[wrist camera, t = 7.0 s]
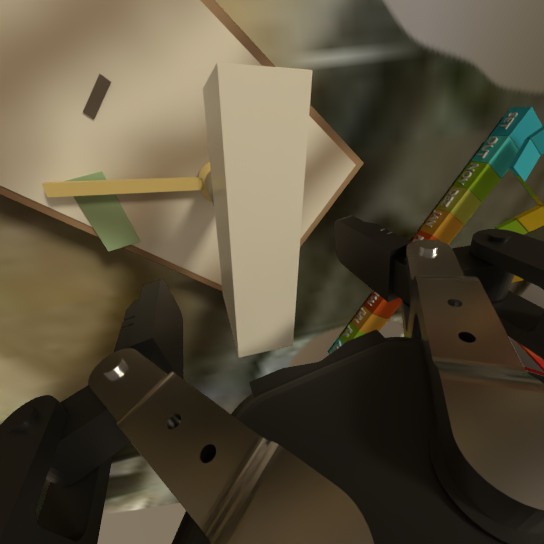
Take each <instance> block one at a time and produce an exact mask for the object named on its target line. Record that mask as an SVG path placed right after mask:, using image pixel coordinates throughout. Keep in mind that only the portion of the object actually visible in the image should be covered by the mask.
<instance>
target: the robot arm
mask: <svg viewBox="0 0 544 544" xmlns="http://www.w3.org/2000/svg"><path fill="white" fill-rule="evenodd" d="M334 232H335V244H336V253H337V257H338V259H339V261H340V262H341V263H342V264H343V265H344V266H345V267H346V268H348V269H349V270H350V271H351V272H352V273H354V274H355V275H356V276H357V277H358V278H359V279H361V280H362V281H363V282H364V283H365V284H367V285H368V286H369V287H370V288H371V289H373V290H374V291H375V292H376V293H377V294H378V295H380V296H381V297H382V298H383V299H384V300H386V301H387V302H390V301H392V300H395V299H397V298H401V299H402V303H401V309H402V318H403V327H404V337H390V338H384V337H383V336H382V335H381V333H379V331H378V330H377V329H376V330H373V331H371V332H369V333H366V334H364V335H361V336H359V337H357V338H354V339H352V340H349V341H347V342H346V343H344V344H343V345H342V346H340V347H339V348H338V349H336V350H335V351H334V352H332V353H331V354H330V355H329V356H327V357H326V358H325V359H323V360H322V361H319V362H317V363H311V364H305V365H300V366H294V367H288V368H282V369H280V370H278V371H275V372H273V373H270V374H268V375H266V376H263V377H261V378H258V379H256V380H254V381H251V382H250V386H251V390H252V394H251V395H250V396H248V397H247V398H246V399H245V400H244V401H243V402H241V403H240V404H239V406H238V407H237V408H236V409H235V410H234V411H233V413H232V414H230V413H228V412H227V411H226V410H224V409H223V408H222V407H220V406H219V405H218V404H216V403H215V402H214V401H212V400H211V399H209V398H208V397H207V396H205V395H204V394H203V393H201V392H200V391H199V390H197V389H196V388H195V387H193V386H192V385H191V384H189V383H188V382H186V381H185V380H184V379H183V318H182V314H181V311H180V309H179V307H178V305H177V303H176V301H175V299H174V297H173V296H172V294H171V292H170V290H169V288H168V286H167V285H166V283H165V281H164V280H163V279H160V280H157V281H154V282H151V283H149V284H146V285H143V287H142V291H141V295H140V299H138V300H135V301H134V302H133V303H132V304H131V305H130V307H129V308H128V309H127V310H126V314H125V317H124V321H123V323H122V327H121V328H122V329H121V330H120V333H119V337H118V340H117V343H116V347H115V350H114V353H112V354H111V355H109V356H108V357H106V358H105V359H104V360H102V361H101V362H100V363H99V364H98V365H97V366H96V367H95V369H94V370H93V371H92V373H91V375H90V377H89V382H88V383H89V385H88V386H87V387H85V388H83V389H82V390H80V391H78V392H77V393H75V394H74V395H72V396H70V397H69V398H67V399H65V400H64V401H62V402H59V401H58V400H56V399H55V398H54V397H53V396H50V395H45V396H40V397H37V398H35V399H33V400H31V401H29V402H27V403H25V404H24V405H22V406H21V407H20V408H18V409H17V410H15V411H14V412H13V413H12V414H11V415H10V416H9V417H8V418H7V419H5V421H4V422H3V423H2V424H1V425H0V544H97V542H98V536H99V530H100V525H101V519H102V513H103V508H104V502H105V496H106V490H107V485H108V479H109V473H110V467H111V462H112V456H113V455H114V454H115V453H117V452H118V451H119V450H121V449H122V448H123V447H125V446H126V445H127V444H129V443H130V442H131V443H132V444H133V445H134V446H135V448H136V449H137V450H138V451H139V453H140V454H141V455H142V456H143V458H144V459H145V460H146V461H147V462H148V464H149V465H150V466H151V467H152V469H153V470H154V471H155V472H156V474H157V475H158V476H159V477H160V479H161V480H162V481H163V482H164V484H165V485H166V486H167V487H168V489H169V490H170V491H171V492H172V494H173V495H174V496H175V497H176V498H177V500H178V501H179V502H180V503H181V505H182V506H183V507H184V508H185V510H186V512H185V515H184V517H183V519H182V521H181V524H180V526H179V528H178V531H177V533H176V535H175V538H174V540H173V542H172V544H544V376H540V375H537V374H534V373H530V372H527V371H526V369H525V368H524V366H523V364H522V362H521V360H520V358H519V356H518V354H517V352H516V350H515V349H514V347H513V345H512V343H511V341H510V339H509V337H511V338H512V339H514V340H515V341H517V342H518V343H520V344H521V345H523V346H524V347H526V348H527V349H529V350H530V351H532V352H533V353H535V354H536V355H538V356H539V357H541V358H542V359H544V309H543V308H541V307H539V306H537V305H536V304H534V303H532V302H530V301H528V300H526V299H524V298H522V297H520V296H518V295H516V294H515V293H513V292H511V291H509V288H510V286H511V283H512V280H513V278H514V275H516V276H518V277H520V278H522V279H524V280H526V281H528V282H531V283H533V284H535V285H537V286H539V287H541V288H542V289H543V290H544V241H541V240H538V239H535V238H532V237H529V236H526V235H523V234H520V233H517V232H513V231H509V230H503V229H487V230H481V231H478V232H476V233H475V234H474V235H473V238H472V242H471V246H464V247H457V248H452V247H451V246H450V245H448V244H447V243H444V242H441V241H437V240H418V241H414V242H412V241H410V240H408V239H406V238H403V237H401V236H399V235H397V234H395V233H392V232H391V231H389V230H387V229H385V228H383V227H381V226H379V225H377V224H373V223H368V222H364V221H362V220H360V219H358V218H356V217H354V216H348V217H345V218H342V219H339V220H336V221H335V223H334ZM508 336H509V337H508ZM46 479H47V480H49V481H51V482H50V485H49V488H48V491H47V494H46V497H45V500H44V503H43V506H42V509H41V512H40V515H39V518H38V521H37V520H36V507H37V503H38V500H39V497H40V494H41V491H42V488H43V485H44V483H45V480H46Z"/></svg>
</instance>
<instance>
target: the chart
mask: <svg viewBox="0 0 544 544" xmlns="http://www.w3.org/2000/svg"><path fill="white" fill-rule="evenodd" d="M543 153H544V126H542V124H541V123H540V121H539V119H538V117H537V115H536V114H535V112H534V110H533V108H532V107H519V108H510V110H509V111H508V112H507V114H506V115H505V116H504V118H503V119H502V120H501V122H500V123H499V124H498V126H497V127H496V128H495V130H494V131H493V132H492V134H491V135H490V136H489V138H488V139H487V140H486V142H485V143H484V144H483V146H482V147H481V148H480V150H479V151H478V152H477V154H476V155H475V156H474V158H473V159H472V160H471V162H470V163H469V165H468V166H467V167H466V169H465V170H464V171H463V173H462V174H461V175H460V177H459V178H458V179H457V181H456V182H455V183H454V185H453V186H452V187H451V189H450V190H449V191H448V193H447V194H446V195H445V197H444V198H443V199H442V201H441V202H440V203H439V205H438V206H437V207H436V209H435V210H434V211H433V213H432V214H431V215H430V217H429V218H428V219H427V221H426V222H425V223H424V225H423V226H422V227H421V229H420V230H419V231H418V233H417V234H416V235H415V237H414V238H413V240H412V242H414V241H418V240H437V241H441V242H444V243H447V244H448V245H449V243H450V242H451V241H452V240H453V238H454V237H455V236H456V235H457V233H458V232H459V231H460V230H461V228H462V227H463V226H464V225H465V223H466V222H467V221H468V220H469V218H470V217H471V216H472V215H473V213H474V212H475V211H476V210H477V208H478V207H479V206H480V205H481V203H482V202H483V201H484V200H485V198H486V197H487V196H488V195H489V193H490V192H491V191H492V190H493V188H494V187H495V186H496V185H497V183H498V182H499V181H500V180H501V178H502V177H503V176H504V175H505V173H506V172H507V171H508V170H509V168H510V169H511V171H512V172H513V173H514V175H515V176H516V177H517V178H518V180H519V181H520V182H521V184H522V185H523V186H524V187H525V189H526V190H527V191H528V193H529V194H530V195H531V196H532V198H533V199H534V200H535V201H536V203H537V204H538V205H537V206H535V207H533V208H531V209H530V210H528V211H526V212H524V213H522V214H520V215H518V216H516V217H514V219H510V220H508V221H506V222H504V223H502V224H500V225H498V226H496V227H495V229H503V230H509V231H513V232H517V233H520V234H526V233H528V232H530V231H532V230H534V229H537V228H539V227H541V226H543V225H544V205H543V204H542V203H541V201H540V200H539V199H538V198H537V196H536V195H535V194H534V193H533V191H532V190H531V189H530V188H529V186H528V185H527V184H526V183H525V180H526V179H527V177H528V175H529V174H530V172H531V170H532V169H533V167H534V166H535V164H536V162H537V161H538V159H539V157H540V156H541V154H543ZM463 224H464V225H463ZM527 231H528V232H527ZM521 280H523V279H522V278H520V277H518V276H516V275H514V278H513V280H512V282H516V281H521ZM401 303H402V299H401V298H397V299H395V300H392V301H390V302H387V301H386V300H384V299H383V298H382V297H381V296H380V295H378V294H377V293H376V292H375V291H374V292H373V293H372V294H371V296H370V297H369V298H368V300H367V301H366V302H365V304H364V305H365V306H364V305H363V306H362V308H361V309H360V310H359V312H358V313H357V314H356V316H355V317H354V319H353V320H352V321H351V323H350V324H349V325H347V326H346V327H345V328H344V330H343V331H342V332H341V334H340V335H339V337H338V338H337V339H336V341H335V342H334V343H333V345H332V346H331V347H330V349H329V350H328V353H329V355H330V354H331V353H332V352H334V351H335V350H336V349H338V348H339V347H340V346H342V345H343V344H344V343H346V342H347V341H349V340H352V339H354V338H357V337H359V336H361V335H364V334H366V333H369V332H371V331H373V330H376V329H377V330H378V331H379V330H380V329H381V328H382V327H383V326H384V324H385V323H386V322H387V321H388V319H389V318H390V317H391V316H392V314H393V313H394V312H395V311H396V309H397V308H398V307H399V306H400V304H401ZM516 342H517V341H516ZM517 343H518V342H517ZM518 344H519V345H520V346H521V347H522V348H523V349H524V350H525V351H526V352H527V354H528V355H529V356H530V357H531V358H532V359H533V360H534V361H535V362H536V363H537V364H538V365H539V366H540V367H541V369H542V370H543V371H544V361H543V360H542V359H541V358H540V357H539V356H538V355H536V354H535V353H533V352H532V351H530V350H529V349H527V348H526V347H524V346H523V345H521V344H520V343H518ZM524 368H525V369H526V370H528V371H531V372H534V373H537V374H540V375H543V376H544V373H542V372H539V371H536V370H533V369H530V368H527V367H524Z"/></svg>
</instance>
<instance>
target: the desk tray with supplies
mask: <svg viewBox="0 0 544 544" xmlns="http://www.w3.org/2000/svg"><path fill="white" fill-rule="evenodd" d="M217 62H221V63H233V64H245V65H257V66H269V67H275V66H274V65H273V63H272V62H271V61H270V60H269V59H268V58H267V57H266V56H265V55H264V54H263V53H262V51H261V50H260V49H259V48H258V47H257V46H256V45H255V44H254V43H253V42H252V41H251V39H250V38H249V37H248V36H247V35H246V34H245V33H244V32H243V31H242V30H241V29H240V27H239V26H238V25H237V24H236V23H235V22H234V21H233V20H232V19H231V18H230V17H229V15H228V14H227V13H226V12H225V11H224V10H223V9H222V8H221V7H220V6H219V5H218V3H217V2H216V1H215V0H0V194H1V195H3V196H5V197H8V198H10V199H12V200H15V201H17V202H19V203H21V204H24V205H26V206H28V207H31V208H33V209H35V210H37V211H40V212H42V213H44V214H47V215H49V216H51V217H53V218H56V219H58V220H60V221H63V222H65V223H67V224H69V225H72V226H74V227H76V228H79V229H81V230H83V231H85V232H88V233H90V234H92V235H95V236H97V237H99V238H100V239H101V241H102V242H103V244H104V245H105V247H106V248H107V250H108V252H109V251H112V250H115V249H119V248H124V249H127V250H129V251H131V252H133V253H136V254H138V255H140V256H142V257H145V258H147V259H149V260H152V261H154V262H156V263H158V264H161V265H163V266H165V267H168V268H170V269H172V270H174V271H177V272H179V273H181V274H184V275H186V276H188V277H190V278H193V279H195V280H197V281H200V282H202V283H204V284H206V285H209V286H211V287H213V288H216V289H218V290H220V291H222V292H223V290H222V280H221V270H220V260H219V250H218V240H217V229H216V219H215V209H214V205H213V203H212V202H210V201H208V200H207V199H206V198H205V197H204V196H203V195H202V193H201V191H200V190H192V191H171V192H150V193H129V194H108V195H87V196H66V197H47V195H46V193H45V191H44V188H43V186H42V183H44V182H61V181H90V180H119V179H149V178H178V177H198V175H199V172H200V170H201V168H202V167H203V166H204V165H205V164H206V163H207V162H209V161H210V158H209V148H208V138H207V128H206V118H205V108H204V98H203V87H204V86H205V84H206V82H207V80H208V78H209V76H210V75H211V73H212V71H213V69H214V67H215V65H216V63H217ZM362 165H363V162H362V161H361V160H360V158H359V157H358V156H357V155H356V154H355V153H354V152H353V151H352V150H351V149H350V148H349V146H348V145H347V144H346V143H345V142H344V141H343V140H342V139H341V138H340V137H339V136H338V134H337V133H336V132H335V131H334V130H333V129H332V128H331V127H330V126H329V125H328V124H327V122H326V121H325V120H324V119H323V118H322V117H321V116H320V115H319V114H318V113H317V112H316V110H315V109H314V108H313V107H312V106H311V105H310V110H309V124H308V138H307V152H306V166H305V180H304V194H303V208H302V222H301V236H300V247H301V245H302V244H303V243H304V241H305V240H306V239H307V237H308V236H309V235H310V234H311V232H312V231H313V230H314V228H315V227H316V226H317V224H318V223H319V222H320V220H321V219H322V218H323V216H324V215H325V214H326V212H327V211H328V210H329V208H330V207H331V206H332V204H333V203H334V202H335V200H336V199H337V198H338V196H339V195H340V194H341V192H342V191H343V190H344V189H345V187H346V186H347V185H348V183H349V182H350V181H351V179H352V178H353V177H354V175H355V174H356V173H357V171H358V170H359V169H360V167H361V166H362Z"/></svg>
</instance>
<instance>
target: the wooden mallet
mask: <svg viewBox="0 0 544 544" xmlns="http://www.w3.org/2000/svg"><path fill="white" fill-rule="evenodd" d="M311 82H312V70H306V69H293V68H281V67H269V66H257V65H245V64H233V63H221V62H217V63H216V65H215V67H214V69H213V71H212V73H211V75H210V76H209V78H208V80H207V82H206V84H205V86H204V87H203V98H204V108H205V118H206V128H207V138H208V148H209V158H210V161H209V162H207V163H206V164H205V165H204V166H203V167H202V168H201V170H200V172H199V175H198V177H178V178H149V179H119V180H90V181H61V182H44V183H42V186H43V188H44V191H45V193H46V195H47V197H66V196H87V195H108V194H129V193H150V192H171V191H192V190H200V191H201V193H202V195H203V196H204V197H205V198H206V199H207V200H208V201H210V202H212V203H213V205H214V209H215V219H216V229H217V240H218V250H219V260H220V270H221V280H222V290H223V297H224V301H225V305H226V309H227V313H228V317H229V321H230V325H231V329H232V333H233V337H234V341H235V345H236V349H237V353H238V357H243V356H248V355H252V354H257V353H261V352H266V351H270V350H274V349H279V348H283V347H288V346H292V345H293V334H294V320H295V306H296V292H297V278H298V264H299V250H300V236H301V222H302V208H303V194H304V180H305V166H306V152H307V138H308V124H309V110H310V96H311Z"/></svg>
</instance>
